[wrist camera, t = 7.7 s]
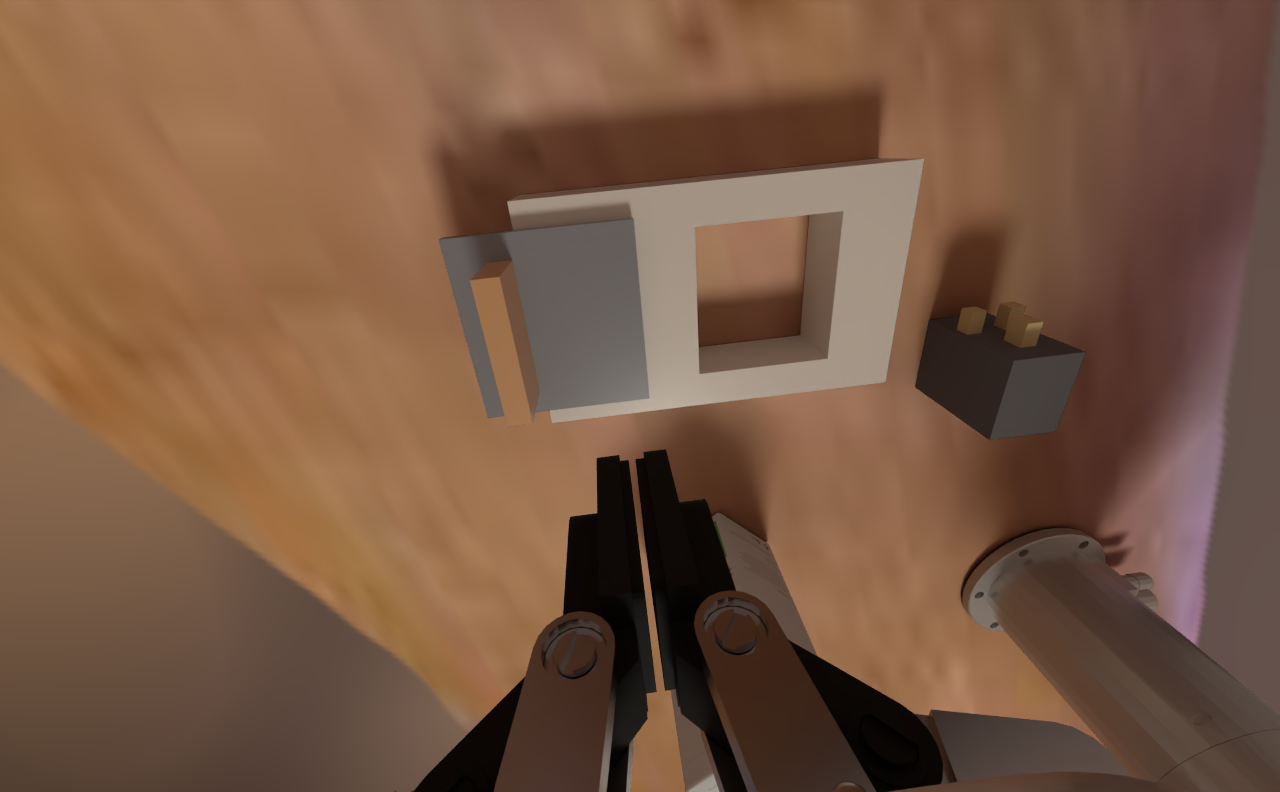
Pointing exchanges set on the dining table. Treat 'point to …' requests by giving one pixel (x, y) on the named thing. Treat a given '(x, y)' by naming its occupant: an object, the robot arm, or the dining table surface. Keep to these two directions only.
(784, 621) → the skincare box
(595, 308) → the shutter
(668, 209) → the socket block
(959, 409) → the plug
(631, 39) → the dining table surface
